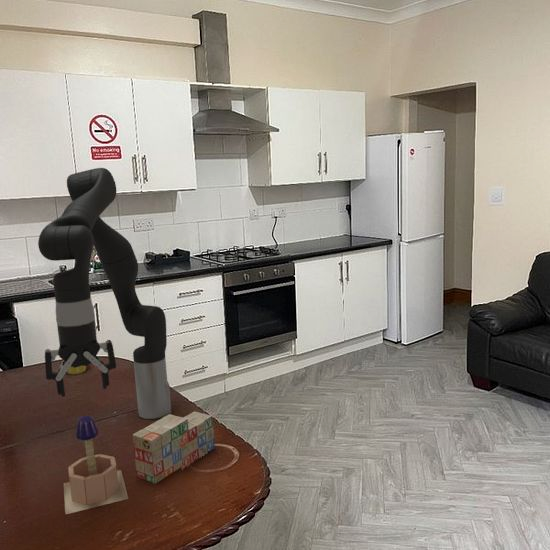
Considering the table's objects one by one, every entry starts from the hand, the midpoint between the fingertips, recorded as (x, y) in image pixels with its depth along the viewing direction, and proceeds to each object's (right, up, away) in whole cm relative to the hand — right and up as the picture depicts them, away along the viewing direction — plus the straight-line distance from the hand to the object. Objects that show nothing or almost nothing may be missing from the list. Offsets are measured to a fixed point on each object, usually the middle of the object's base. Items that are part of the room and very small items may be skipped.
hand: (84, 391), depth 120 cm
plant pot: (-32, -11, +85) cm, 92 cm away
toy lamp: (+1, -23, +4) cm, 23 cm away
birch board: (+1, -25, +5) cm, 25 cm away
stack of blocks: (+17, -22, +17) cm, 33 cm away
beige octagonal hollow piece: (+1, -23, +5) cm, 24 cm away
